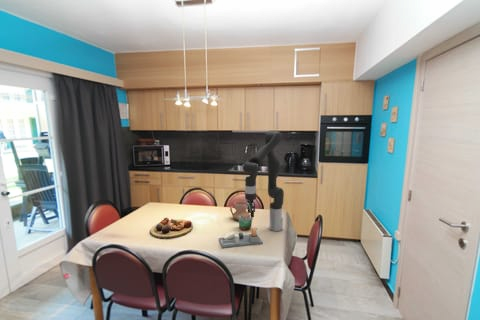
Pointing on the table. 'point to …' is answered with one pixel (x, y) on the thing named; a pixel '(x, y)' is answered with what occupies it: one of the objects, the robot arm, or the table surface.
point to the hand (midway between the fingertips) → (250, 214)
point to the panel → (240, 241)
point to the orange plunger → (253, 232)
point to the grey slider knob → (236, 238)
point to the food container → (245, 222)
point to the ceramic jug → (239, 209)
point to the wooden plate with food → (171, 228)
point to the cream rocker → (229, 235)
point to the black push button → (240, 235)
